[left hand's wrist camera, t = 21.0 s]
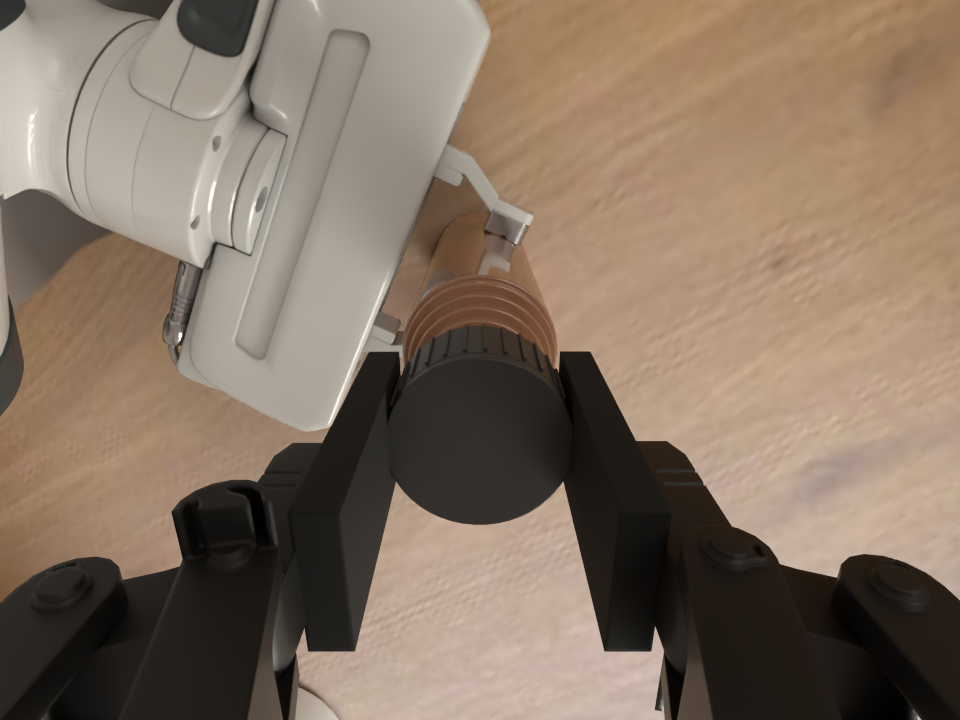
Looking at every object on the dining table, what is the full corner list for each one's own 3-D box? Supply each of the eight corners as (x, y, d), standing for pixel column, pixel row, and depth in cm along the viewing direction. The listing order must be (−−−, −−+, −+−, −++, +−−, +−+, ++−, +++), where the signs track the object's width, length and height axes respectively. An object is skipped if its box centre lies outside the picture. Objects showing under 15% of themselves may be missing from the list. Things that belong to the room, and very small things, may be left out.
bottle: (441, 301, 33) (389, 527, 14) (431, 216, 32) (355, 341, 12) (525, 294, 33) (588, 512, 14) (519, 207, 31) (584, 321, 12)
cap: (453, 289, 13) (448, 317, 11) (597, 380, 14) (617, 422, 12) (365, 423, 15) (346, 470, 13) (502, 499, 16) (505, 555, 14)
